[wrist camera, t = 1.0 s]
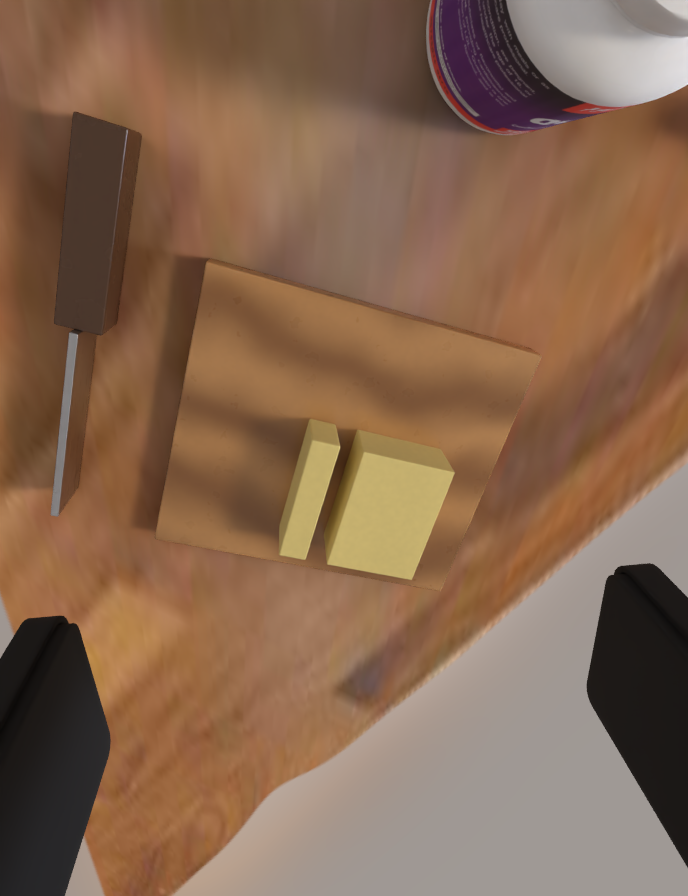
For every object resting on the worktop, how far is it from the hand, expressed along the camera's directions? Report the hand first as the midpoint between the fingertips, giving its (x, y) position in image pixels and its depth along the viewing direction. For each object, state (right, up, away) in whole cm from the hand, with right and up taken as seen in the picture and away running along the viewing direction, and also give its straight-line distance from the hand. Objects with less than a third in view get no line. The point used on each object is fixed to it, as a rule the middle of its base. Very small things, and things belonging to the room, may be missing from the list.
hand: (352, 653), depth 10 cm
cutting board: (0, +4, +23) cm, 23 cm away
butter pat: (-2, +2, +22) cm, 22 cm away
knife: (-13, +10, +19) cm, 25 cm away
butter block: (+2, +1, +23) cm, 23 cm away
